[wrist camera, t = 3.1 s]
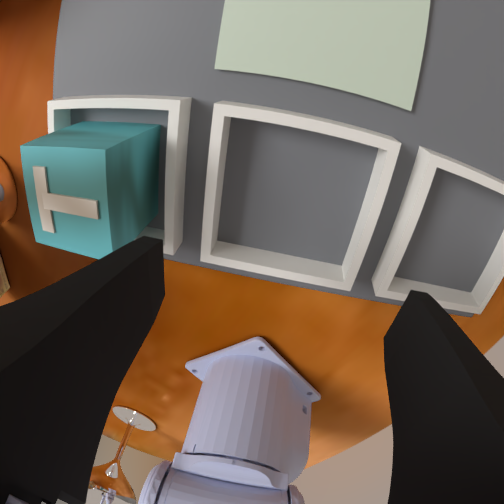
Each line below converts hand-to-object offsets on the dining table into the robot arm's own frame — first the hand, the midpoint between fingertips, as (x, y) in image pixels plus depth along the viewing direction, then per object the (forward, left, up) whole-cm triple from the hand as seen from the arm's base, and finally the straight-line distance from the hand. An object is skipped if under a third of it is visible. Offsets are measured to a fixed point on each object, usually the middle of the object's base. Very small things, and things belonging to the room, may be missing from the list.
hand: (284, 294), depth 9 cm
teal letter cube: (+7, +7, -8) cm, 12 cm away
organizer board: (+3, -3, -8) cm, 10 cm away
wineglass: (-15, +34, -9) cm, 38 cm away
